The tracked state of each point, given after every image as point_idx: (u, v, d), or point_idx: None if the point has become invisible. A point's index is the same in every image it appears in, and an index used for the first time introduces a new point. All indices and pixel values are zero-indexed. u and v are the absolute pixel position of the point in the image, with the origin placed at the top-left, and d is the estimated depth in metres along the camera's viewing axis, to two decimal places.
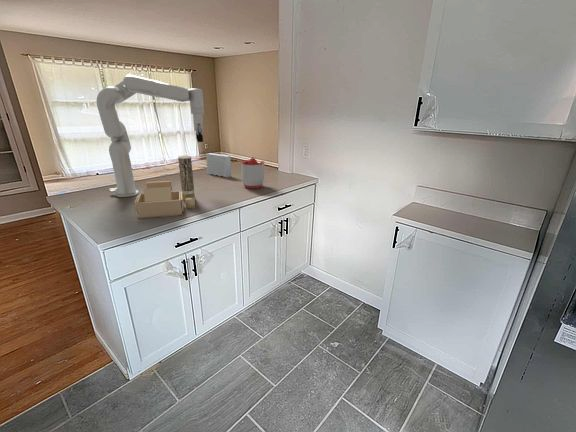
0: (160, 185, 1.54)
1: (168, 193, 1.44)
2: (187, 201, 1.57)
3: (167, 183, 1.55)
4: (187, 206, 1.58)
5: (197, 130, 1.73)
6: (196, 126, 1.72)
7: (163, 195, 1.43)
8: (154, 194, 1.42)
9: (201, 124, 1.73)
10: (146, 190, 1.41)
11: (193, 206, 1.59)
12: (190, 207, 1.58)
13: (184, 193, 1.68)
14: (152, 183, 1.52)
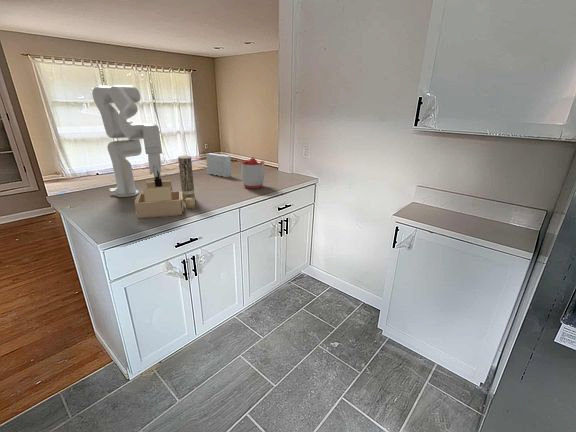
0: None
1: (168, 193, 1.44)
2: (187, 201, 1.57)
3: (167, 183, 1.55)
4: (187, 206, 1.58)
5: (154, 175, 1.47)
6: (151, 169, 1.43)
7: (163, 195, 1.43)
8: (154, 194, 1.42)
9: (158, 166, 1.44)
10: (146, 190, 1.41)
11: (193, 206, 1.59)
12: (190, 207, 1.58)
13: (184, 193, 1.68)
14: (152, 183, 1.52)
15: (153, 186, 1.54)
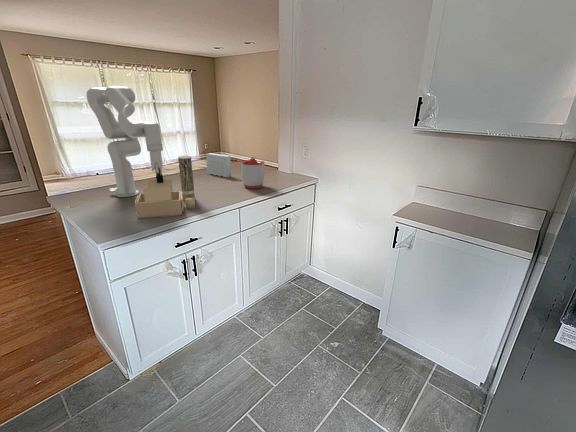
0: (160, 183, 1.58)
1: (168, 193, 1.44)
2: (187, 201, 1.57)
3: (167, 181, 1.60)
4: (187, 206, 1.58)
5: (155, 171, 1.53)
6: (153, 165, 1.49)
7: (163, 195, 1.43)
8: (154, 194, 1.42)
9: (159, 163, 1.50)
10: (146, 190, 1.41)
11: (193, 206, 1.59)
12: (190, 207, 1.58)
13: (184, 193, 1.68)
14: (153, 181, 1.58)
15: (154, 185, 1.57)
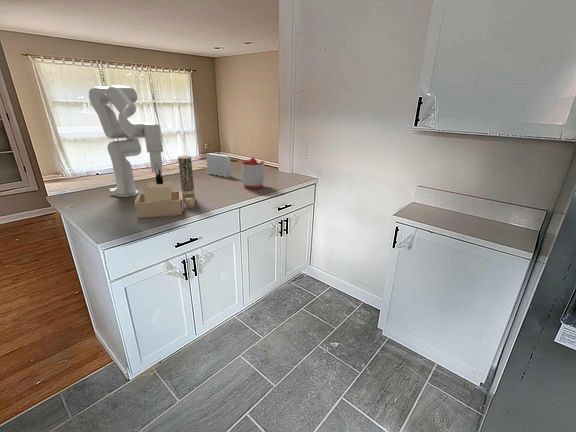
0: (161, 184, 1.60)
1: (168, 193, 1.44)
2: (187, 201, 1.57)
3: (168, 183, 1.61)
4: (187, 206, 1.58)
5: (155, 172, 1.52)
6: (153, 167, 1.48)
7: (163, 195, 1.43)
8: (154, 194, 1.42)
9: (159, 164, 1.48)
10: (146, 190, 1.41)
11: (193, 206, 1.59)
12: (190, 207, 1.58)
13: (184, 193, 1.68)
14: (154, 183, 1.59)
15: (154, 186, 1.58)
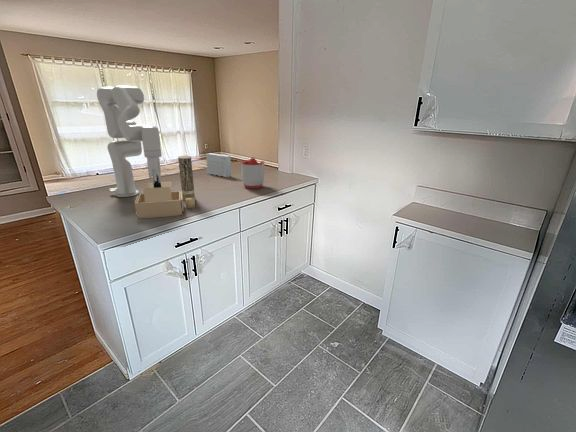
0: (161, 184, 1.60)
1: (168, 193, 1.44)
2: (187, 201, 1.57)
3: (168, 183, 1.61)
4: (187, 206, 1.58)
5: (153, 179, 1.41)
6: (151, 173, 1.37)
7: (163, 195, 1.43)
8: (154, 194, 1.42)
9: (157, 170, 1.38)
10: (146, 190, 1.41)
11: (193, 206, 1.59)
12: (190, 207, 1.58)
13: (184, 193, 1.68)
14: None
15: None
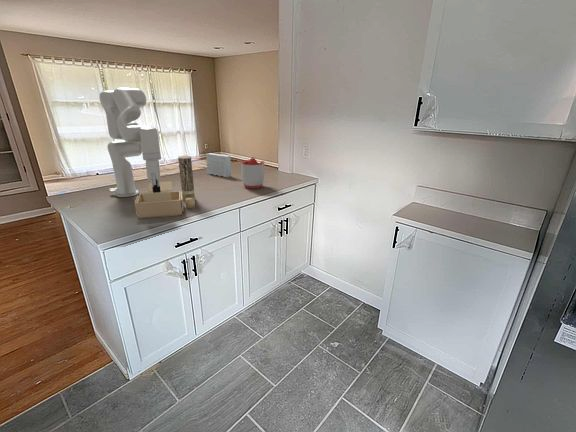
0: (161, 184, 1.60)
1: (168, 196, 1.41)
2: (187, 201, 1.57)
3: (168, 183, 1.61)
4: (187, 206, 1.58)
5: (152, 182, 1.35)
6: (149, 176, 1.31)
7: (163, 198, 1.41)
8: (154, 197, 1.39)
9: (156, 173, 1.32)
10: (145, 195, 1.37)
11: (193, 206, 1.59)
12: (190, 207, 1.58)
13: (184, 193, 1.68)
14: None
15: None
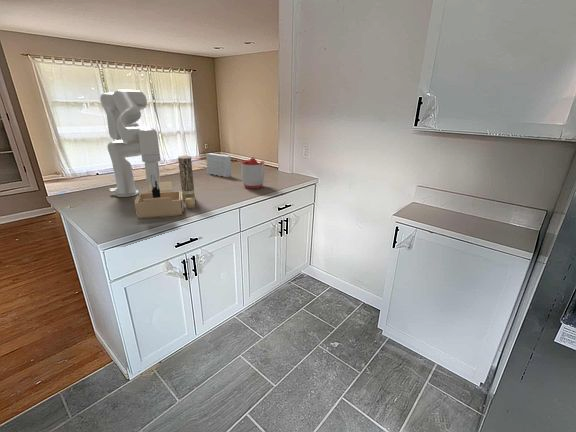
0: (161, 184, 1.60)
1: (168, 199, 1.41)
2: (187, 201, 1.57)
3: (168, 183, 1.61)
4: (187, 206, 1.58)
5: (151, 184, 1.32)
6: (149, 178, 1.28)
7: (163, 200, 1.41)
8: (154, 200, 1.39)
9: (156, 175, 1.29)
10: (145, 200, 1.36)
11: (193, 206, 1.59)
12: (190, 207, 1.58)
13: (184, 193, 1.68)
14: None
15: None
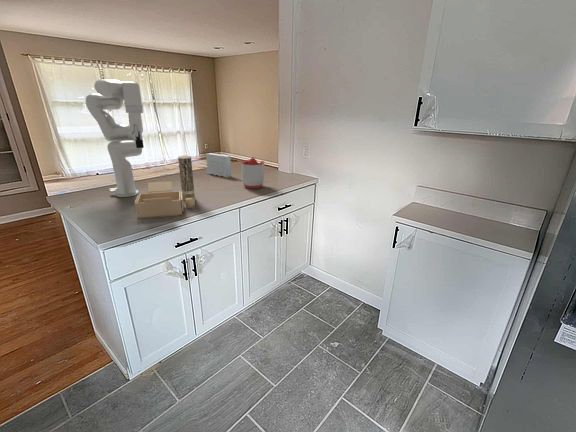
0: (161, 184, 1.60)
1: (168, 199, 1.41)
2: (187, 201, 1.57)
3: (168, 183, 1.61)
4: (187, 206, 1.58)
5: (135, 135, 1.45)
6: (132, 128, 1.41)
7: (163, 200, 1.41)
8: (154, 200, 1.39)
9: (138, 125, 1.42)
10: (145, 200, 1.36)
11: (193, 206, 1.59)
12: (190, 207, 1.58)
13: (184, 193, 1.68)
14: (154, 183, 1.60)
15: (154, 186, 1.58)
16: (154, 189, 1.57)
